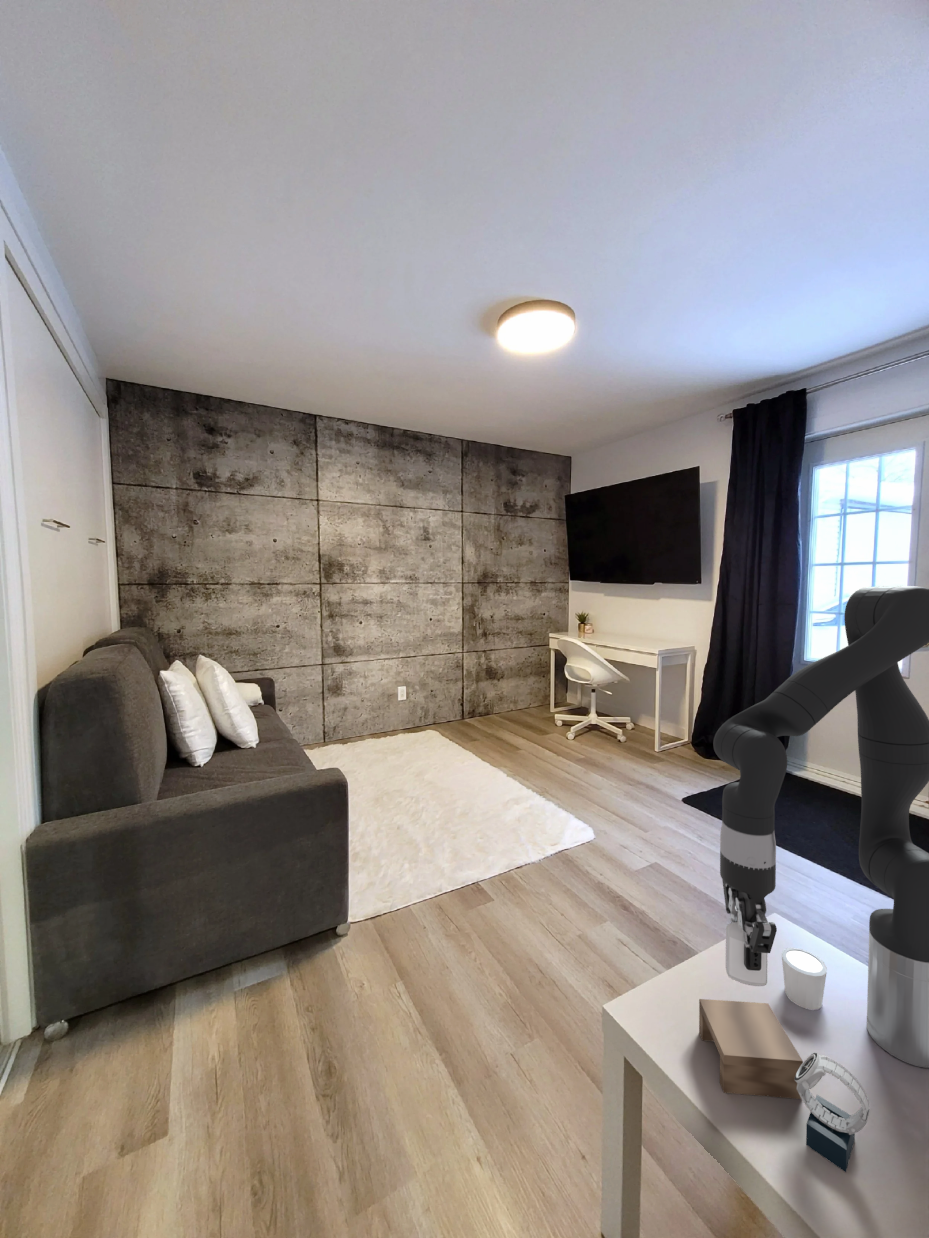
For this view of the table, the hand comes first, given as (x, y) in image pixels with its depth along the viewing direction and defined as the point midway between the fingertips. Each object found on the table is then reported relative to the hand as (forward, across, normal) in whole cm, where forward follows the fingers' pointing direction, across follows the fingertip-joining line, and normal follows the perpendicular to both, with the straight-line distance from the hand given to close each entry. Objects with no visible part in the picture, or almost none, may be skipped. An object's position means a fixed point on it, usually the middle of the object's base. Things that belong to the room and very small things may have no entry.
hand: (746, 957), depth 77 cm
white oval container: (+17, +14, -16) cm, 27 cm away
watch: (+17, -11, -6) cm, 21 cm away
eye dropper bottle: (+3, 0, 0) cm, 3 cm away
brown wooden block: (+17, 0, 0) cm, 17 cm away
